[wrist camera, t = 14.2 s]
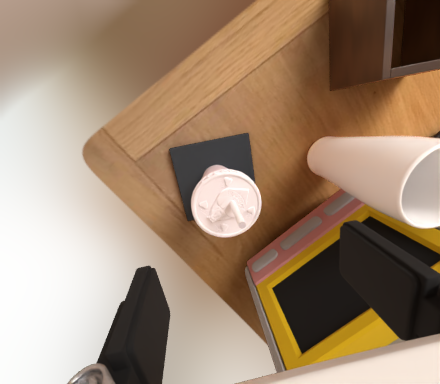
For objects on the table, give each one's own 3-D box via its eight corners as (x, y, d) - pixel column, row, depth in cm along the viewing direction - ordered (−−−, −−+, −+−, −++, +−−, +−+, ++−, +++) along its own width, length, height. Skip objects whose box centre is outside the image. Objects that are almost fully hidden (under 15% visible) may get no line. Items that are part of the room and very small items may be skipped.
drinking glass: (355, 157, 30) (498, 189, 16) (316, 189, 31) (419, 246, 17) (331, 118, 28) (469, 117, 14) (290, 154, 29) (381, 186, 15)
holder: (328, -8, 24) (390, -67, 16) (414, -23, 24) (513, -87, 17) (329, 91, 27) (382, 80, 20) (405, 76, 28) (484, 60, 20)
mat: (169, 148, 27) (169, 148, 27) (247, 132, 28) (248, 133, 27) (187, 219, 30) (187, 221, 30) (257, 204, 31) (258, 206, 30)
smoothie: (250, 181, 29) (296, 233, 16) (212, 210, 30) (227, 283, 16) (220, 143, 27) (245, 166, 14) (181, 175, 28) (169, 226, 15)
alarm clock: (341, 174, 31) (532, 245, 13) (387, 245, 36) (570, 364, 18) (235, 257, 33) (280, 409, 16) (291, 313, 38) (372, 475, 21)
